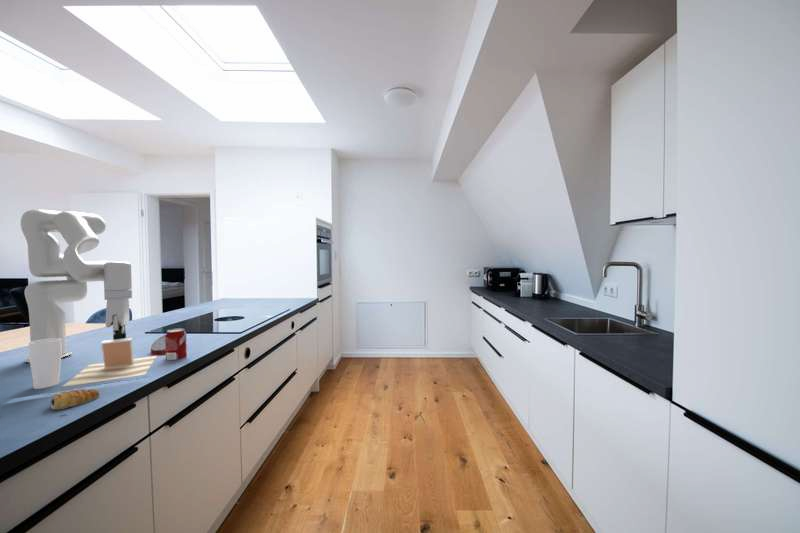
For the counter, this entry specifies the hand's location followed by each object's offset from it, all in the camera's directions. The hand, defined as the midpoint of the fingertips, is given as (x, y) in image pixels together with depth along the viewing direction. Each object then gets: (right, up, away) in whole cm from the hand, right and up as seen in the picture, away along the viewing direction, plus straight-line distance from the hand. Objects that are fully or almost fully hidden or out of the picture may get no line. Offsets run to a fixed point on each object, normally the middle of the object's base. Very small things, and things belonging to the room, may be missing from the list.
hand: (119, 344), depth 114 cm
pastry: (+13, -10, -28) cm, 33 cm away
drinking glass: (-6, -9, -18) cm, 21 cm away
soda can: (+15, -9, +8) cm, 19 cm away
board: (+3, -9, -5) cm, 10 cm away
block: (0, -8, 0) cm, 8 cm away
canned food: (+4, -9, +17) cm, 20 cm away
